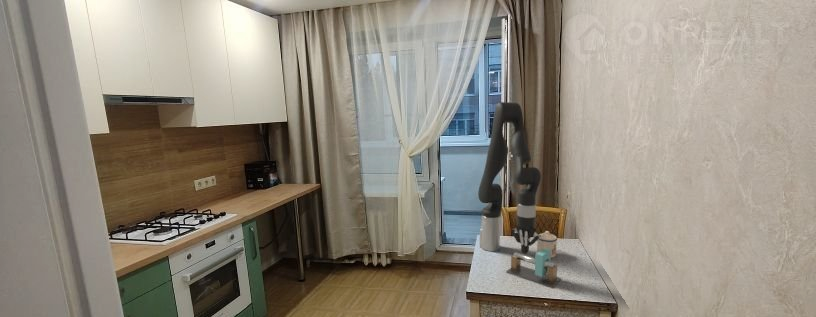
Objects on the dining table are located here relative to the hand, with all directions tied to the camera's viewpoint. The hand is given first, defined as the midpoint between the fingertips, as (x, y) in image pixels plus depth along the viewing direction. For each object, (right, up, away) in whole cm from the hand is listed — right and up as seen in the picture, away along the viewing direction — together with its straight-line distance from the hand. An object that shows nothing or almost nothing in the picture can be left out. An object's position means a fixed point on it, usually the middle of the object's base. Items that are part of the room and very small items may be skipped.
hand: (524, 253), depth 155 cm
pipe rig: (+3, -9, -2) cm, 10 cm away
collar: (+6, -7, -5) cm, 10 cm away
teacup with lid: (+18, -6, +22) cm, 28 cm away
